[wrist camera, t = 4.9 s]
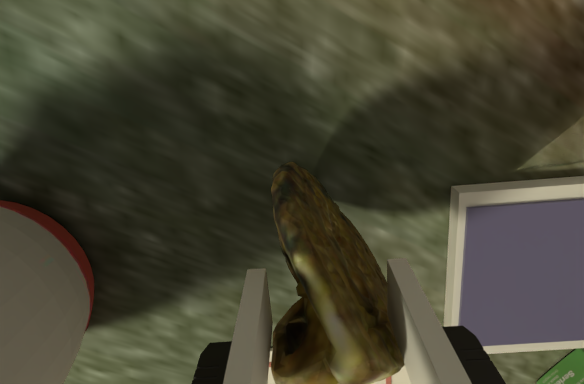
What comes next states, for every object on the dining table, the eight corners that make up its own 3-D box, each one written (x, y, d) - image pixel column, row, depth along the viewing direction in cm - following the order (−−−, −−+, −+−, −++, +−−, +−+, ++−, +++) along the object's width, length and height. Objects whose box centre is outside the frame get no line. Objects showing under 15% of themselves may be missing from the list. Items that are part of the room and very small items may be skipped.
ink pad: (451, 186, 26) (461, 194, 24) (667, 169, 25) (692, 177, 24) (442, 342, 30) (450, 359, 29) (627, 331, 30) (646, 347, 28)
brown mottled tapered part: (381, 226, 27) (470, 427, 13) (331, 266, 28) (365, 488, 15) (287, 132, 25) (277, 258, 11) (237, 181, 26) (170, 349, 12)
